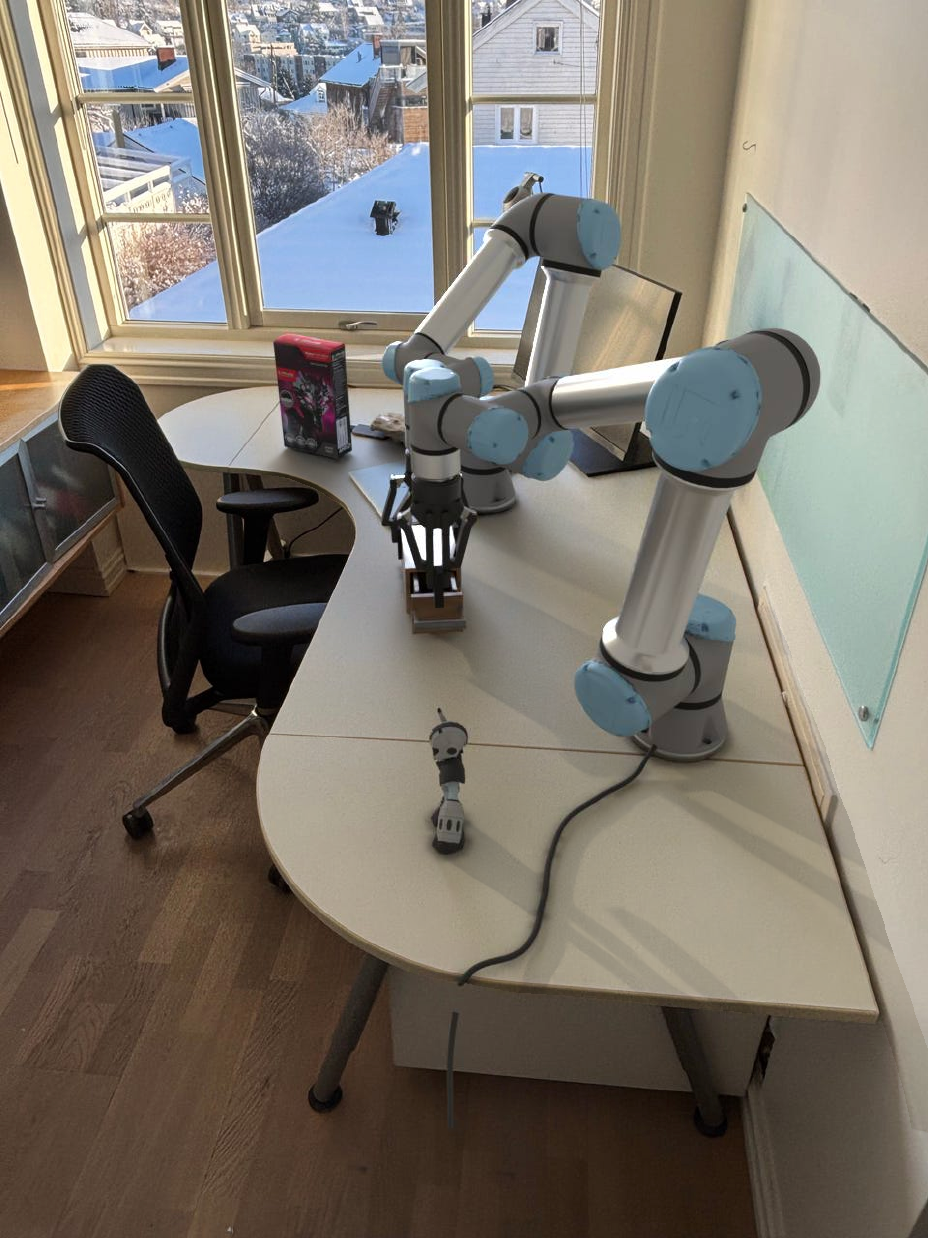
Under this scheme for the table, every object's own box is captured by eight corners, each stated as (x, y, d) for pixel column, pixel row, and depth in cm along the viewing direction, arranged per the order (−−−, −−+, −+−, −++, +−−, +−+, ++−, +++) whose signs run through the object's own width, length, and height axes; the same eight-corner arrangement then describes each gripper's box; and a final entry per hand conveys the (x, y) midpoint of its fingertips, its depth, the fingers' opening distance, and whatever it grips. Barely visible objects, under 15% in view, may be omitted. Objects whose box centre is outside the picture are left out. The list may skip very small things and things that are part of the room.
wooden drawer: (466, 650, 154) (466, 612, 151) (414, 652, 154) (413, 615, 150) (453, 585, 175) (453, 551, 171) (407, 587, 174) (406, 553, 171)
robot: (470, 888, 117) (472, 772, 106) (432, 889, 117) (430, 773, 106) (463, 780, 133) (464, 669, 122) (429, 781, 133) (427, 670, 122)
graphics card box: (282, 447, 232) (270, 339, 217) (298, 438, 237) (288, 331, 222) (338, 461, 225) (330, 350, 210) (354, 451, 230) (347, 342, 215)
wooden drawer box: (461, 610, 168) (461, 566, 164) (406, 613, 167) (405, 568, 163) (451, 565, 184) (451, 524, 180) (401, 568, 183) (400, 526, 179)
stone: (354, 436, 230) (358, 412, 227) (375, 427, 243) (380, 405, 241) (432, 460, 226) (438, 436, 224) (450, 450, 240) (455, 428, 237)
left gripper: (485, 438, 171) (482, 543, 184) (363, 441, 169) (369, 548, 182) (490, 454, 165) (487, 562, 177) (363, 458, 163) (369, 567, 175)
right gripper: (475, 460, 144) (475, 589, 157) (392, 464, 143) (398, 594, 156) (481, 480, 138) (480, 613, 150) (393, 484, 137) (400, 618, 149)
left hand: (427, 555), depth 179 cm, fingers closed on wooden drawer box, 10 cm apart
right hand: (438, 603), depth 153 cm, fingers closed
